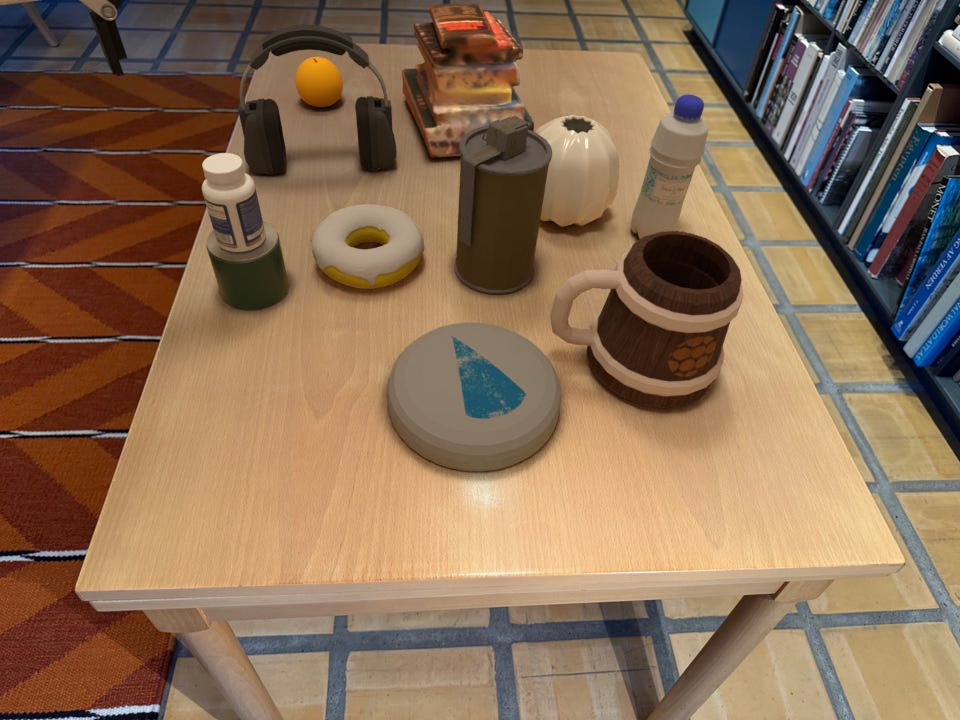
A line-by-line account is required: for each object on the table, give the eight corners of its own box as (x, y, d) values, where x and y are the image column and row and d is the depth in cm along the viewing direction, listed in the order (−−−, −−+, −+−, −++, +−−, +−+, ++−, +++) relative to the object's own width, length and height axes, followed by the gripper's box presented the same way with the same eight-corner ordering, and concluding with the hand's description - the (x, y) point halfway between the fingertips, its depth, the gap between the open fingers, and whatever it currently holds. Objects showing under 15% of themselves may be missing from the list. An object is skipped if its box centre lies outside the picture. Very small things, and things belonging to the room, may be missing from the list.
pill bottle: (263, 222, 76) (246, 146, 69) (269, 249, 73) (252, 172, 66) (215, 229, 75) (192, 152, 68) (219, 257, 71) (196, 179, 64)
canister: (495, 234, 90) (508, 93, 75) (549, 272, 85) (575, 129, 70) (435, 265, 84) (437, 120, 70) (489, 307, 80) (504, 161, 65)
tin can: (213, 309, 76) (197, 259, 71) (229, 266, 82) (215, 217, 76) (282, 311, 77) (271, 262, 71) (293, 268, 82) (284, 219, 77)
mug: (698, 320, 80) (741, 220, 69) (728, 417, 70) (784, 317, 59) (539, 312, 80) (557, 209, 69) (545, 408, 69) (568, 305, 58)
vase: (496, 205, 95) (504, 118, 85) (560, 174, 101) (575, 90, 92) (565, 251, 88) (583, 163, 78) (629, 215, 95) (652, 129, 85)
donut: (434, 238, 88) (435, 207, 85) (408, 304, 79) (407, 272, 75) (336, 221, 89) (332, 190, 86) (299, 285, 80) (293, 253, 77)
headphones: (394, 150, 103) (389, 17, 88) (398, 172, 99) (393, 36, 84) (249, 156, 99) (219, 18, 85) (247, 178, 95) (214, 37, 81)
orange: (346, 112, 111) (341, 68, 105) (298, 114, 109) (291, 69, 104) (343, 91, 116) (339, 48, 110) (298, 92, 114) (291, 49, 109)
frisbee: (507, 320, 78) (511, 289, 74) (592, 434, 67) (601, 404, 64) (362, 366, 72) (359, 334, 68) (430, 499, 61) (430, 470, 57)
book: (535, 157, 104) (550, 48, 92) (426, 166, 101) (426, 54, 88) (497, 92, 119) (506, -9, 106) (401, 98, 115) (398, -7, 103)
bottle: (631, 247, 90) (672, 109, 75) (622, 218, 94) (659, 83, 80) (678, 248, 90) (728, 111, 75) (667, 220, 95) (712, 85, 80)
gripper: (73, -229, 42) (154, 43, 55) (-274, -231, 35) (-90, 80, 48) (96, -210, 38) (178, 80, 51) (-293, -209, 31) (-86, 126, 44)
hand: (48, 80), depth 49 cm, fingers open, 9 cm apart
